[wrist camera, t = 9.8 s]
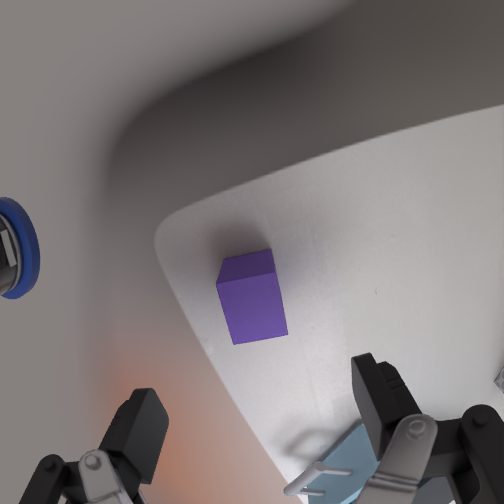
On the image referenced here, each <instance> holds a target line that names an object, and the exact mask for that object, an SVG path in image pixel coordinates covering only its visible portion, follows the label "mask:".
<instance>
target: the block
mask: <svg viewBox="0 0 504 504" xmlns="http://www.w3.org/2000/svg"><path fill="white" fill-rule="evenodd" d="M216 287H217V291H218V294H219V298H220V301H221V305H222V308H223V311H224V315H225V318H226V322H227V325H228V328H229V332H230V335H231V338H232V342H233V344H234V345H235V344H241V343H247V342H253V341H258V340H264V339H269V338H274V337H280V336H285V335H288V330H287V325H286V319H285V314H284V308H283V303H282V298H281V293H280V288H279V283H278V278H277V273H276V268H275V264H274V259H273V254H272V250H271V249H270V250H265V251H260V252H256V253H251V254H246V255H241V256H236V257H232V258H227V259H224V261H223V264H222V267H221V270H220V273H219V276H218V279H217V282H216Z"/></svg>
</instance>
